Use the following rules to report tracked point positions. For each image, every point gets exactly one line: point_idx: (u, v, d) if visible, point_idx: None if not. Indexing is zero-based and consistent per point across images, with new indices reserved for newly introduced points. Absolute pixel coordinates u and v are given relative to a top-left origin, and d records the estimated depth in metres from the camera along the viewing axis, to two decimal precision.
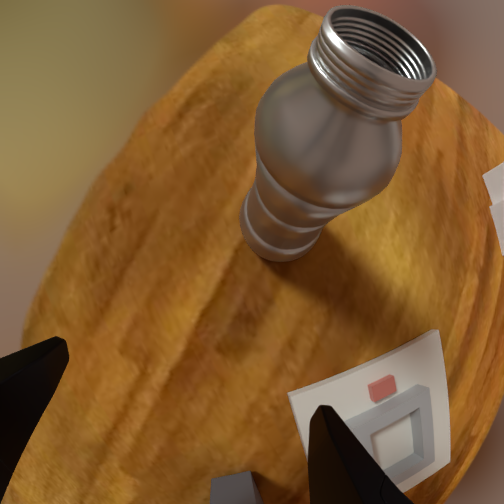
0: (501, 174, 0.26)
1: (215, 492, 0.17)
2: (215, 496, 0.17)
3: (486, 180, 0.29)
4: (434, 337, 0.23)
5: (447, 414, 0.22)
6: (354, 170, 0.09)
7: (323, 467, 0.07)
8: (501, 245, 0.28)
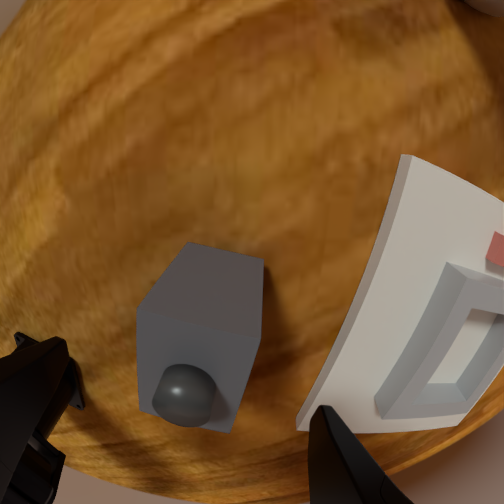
0: None
1: (182, 265, 0.11)
2: (177, 271, 0.10)
3: None
4: None
5: None
6: None
7: (323, 467, 0.07)
8: None
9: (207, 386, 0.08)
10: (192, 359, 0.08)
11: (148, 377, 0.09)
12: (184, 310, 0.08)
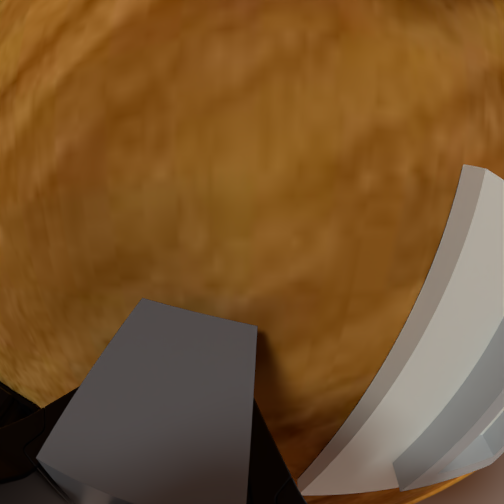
0: None
1: (122, 352, 0.06)
2: (111, 370, 0.05)
3: None
4: None
5: None
6: None
7: None
8: None
9: None
10: None
11: None
12: (111, 467, 0.03)
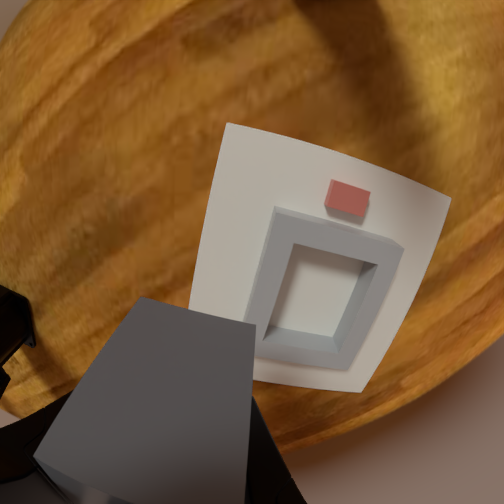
0: None
1: (120, 351, 0.06)
2: (109, 369, 0.05)
3: None
4: (442, 201, 0.17)
5: (398, 322, 0.20)
6: None
7: None
8: None
9: None
10: None
11: None
12: (107, 465, 0.03)
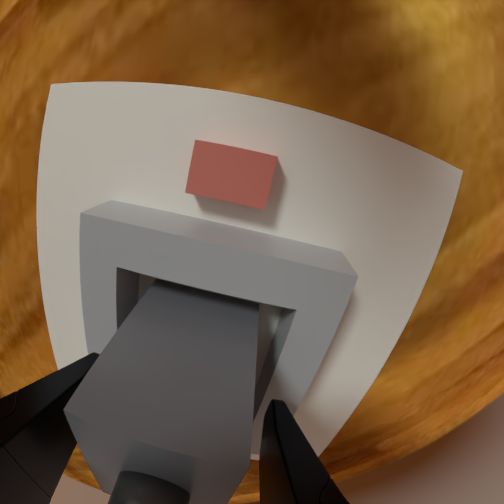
0: None
1: (140, 322, 0.07)
2: (132, 336, 0.07)
3: None
4: (445, 177, 0.08)
5: (364, 387, 0.12)
6: None
7: (269, 464, 0.06)
8: None
9: (177, 502, 0.04)
10: (153, 472, 0.04)
11: (103, 473, 0.05)
12: (132, 414, 0.05)
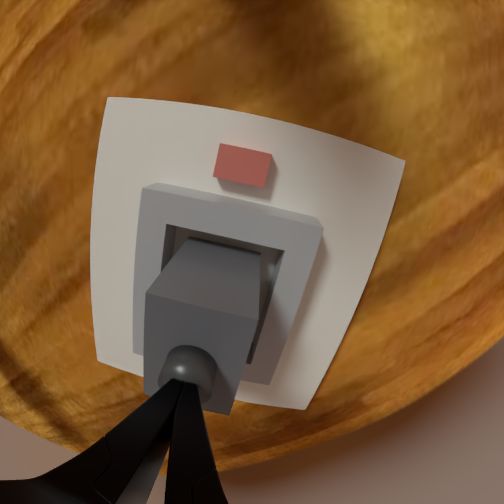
0: None
1: (185, 256, 0.12)
2: (181, 262, 0.11)
3: None
4: (391, 166, 0.13)
5: (342, 328, 0.16)
6: None
7: None
8: None
9: (209, 365, 0.09)
10: (196, 340, 0.09)
11: (153, 360, 0.10)
12: (189, 294, 0.09)
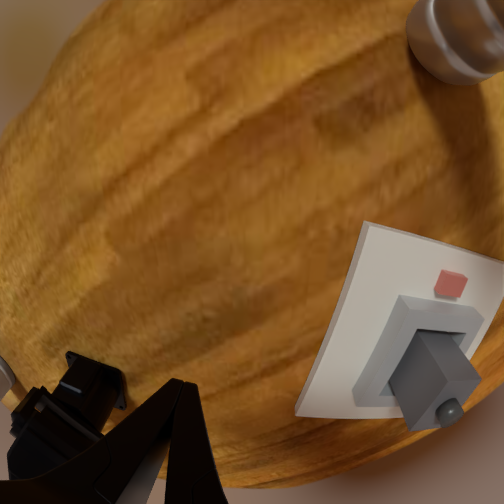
0: None
1: (431, 348, 0.16)
2: (435, 354, 0.16)
3: None
4: None
5: None
6: None
7: None
8: None
9: (459, 404, 0.13)
10: (455, 395, 0.14)
11: (430, 411, 0.14)
12: (457, 375, 0.14)
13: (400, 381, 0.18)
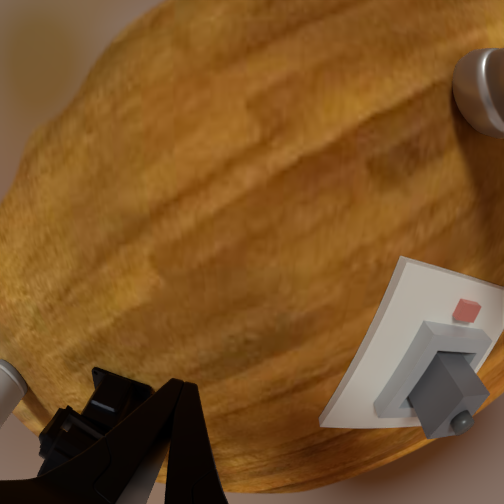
0: None
1: (449, 367, 0.17)
2: (452, 372, 0.17)
3: None
4: None
5: None
6: None
7: None
8: None
9: (470, 415, 0.15)
10: (468, 407, 0.15)
11: (446, 421, 0.15)
12: (471, 391, 0.15)
13: (419, 395, 0.19)
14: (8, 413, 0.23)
